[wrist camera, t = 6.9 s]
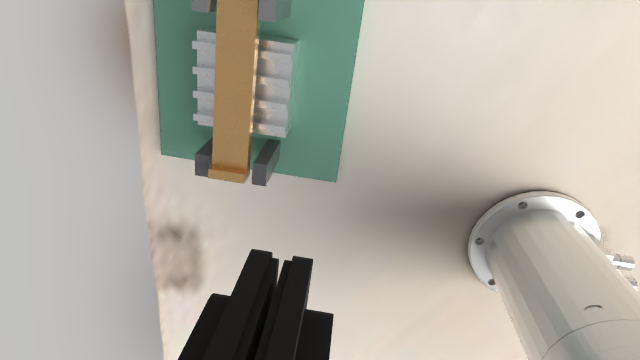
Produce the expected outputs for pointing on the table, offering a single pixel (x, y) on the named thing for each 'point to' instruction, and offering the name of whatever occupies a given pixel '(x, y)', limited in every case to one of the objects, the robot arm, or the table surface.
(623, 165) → the table surface
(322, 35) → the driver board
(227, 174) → the strap
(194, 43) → the heat sink
